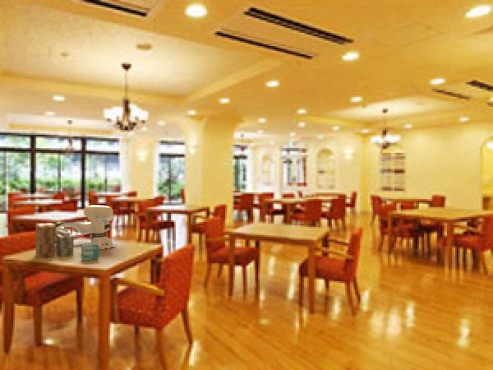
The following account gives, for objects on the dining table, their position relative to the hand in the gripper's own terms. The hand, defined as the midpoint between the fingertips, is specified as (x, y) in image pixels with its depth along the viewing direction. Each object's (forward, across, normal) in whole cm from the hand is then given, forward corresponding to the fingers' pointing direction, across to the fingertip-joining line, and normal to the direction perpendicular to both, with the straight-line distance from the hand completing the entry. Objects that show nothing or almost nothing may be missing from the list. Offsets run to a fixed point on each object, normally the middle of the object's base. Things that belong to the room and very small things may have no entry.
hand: (57, 228), depth 321 cm
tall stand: (+10, +14, -27) cm, 32 cm away
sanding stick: (+14, 0, -11) cm, 17 cm away
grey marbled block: (+9, 0, -27) cm, 29 cm away
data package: (+37, -10, -43) cm, 57 cm away
